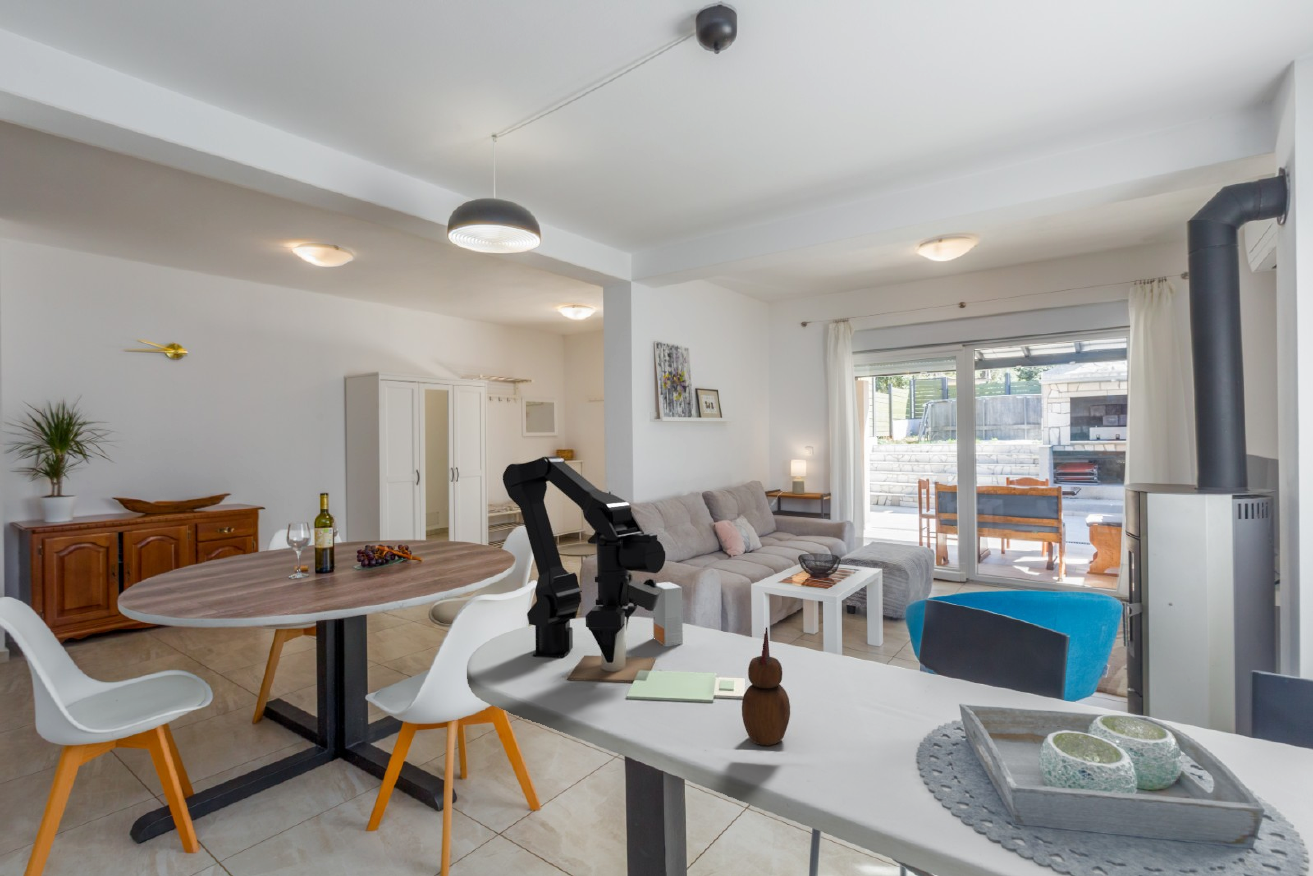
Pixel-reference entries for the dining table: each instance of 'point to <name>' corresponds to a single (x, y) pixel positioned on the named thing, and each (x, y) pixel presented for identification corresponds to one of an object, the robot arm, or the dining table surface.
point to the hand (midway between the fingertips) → (615, 654)
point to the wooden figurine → (765, 700)
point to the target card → (729, 688)
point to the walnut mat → (592, 671)
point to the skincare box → (668, 615)
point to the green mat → (674, 686)
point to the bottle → (617, 653)
